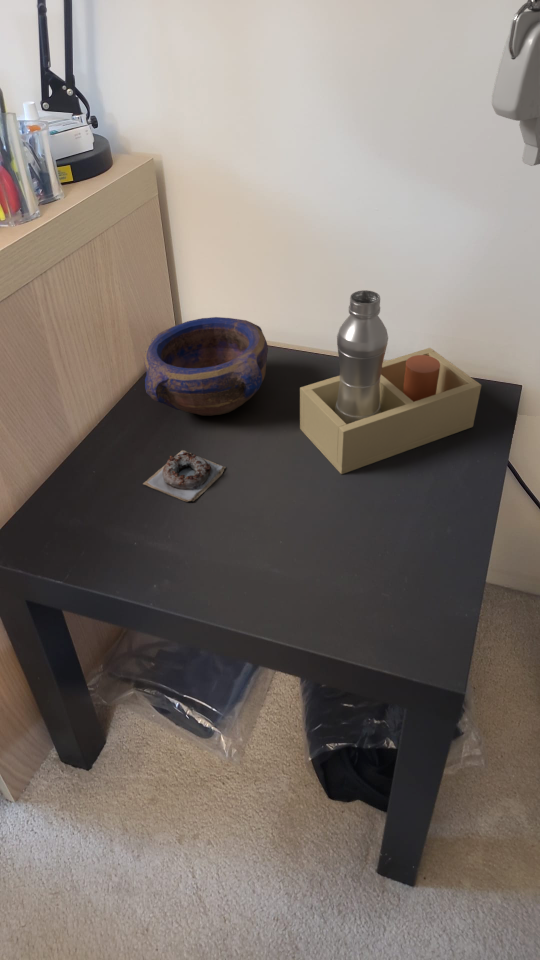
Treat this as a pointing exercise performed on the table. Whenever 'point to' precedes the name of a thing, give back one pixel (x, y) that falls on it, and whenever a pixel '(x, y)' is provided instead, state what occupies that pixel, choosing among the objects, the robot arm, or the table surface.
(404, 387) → the orange cylinder
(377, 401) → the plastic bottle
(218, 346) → the bowl
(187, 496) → the donut
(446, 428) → the divided box
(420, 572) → the table surface
